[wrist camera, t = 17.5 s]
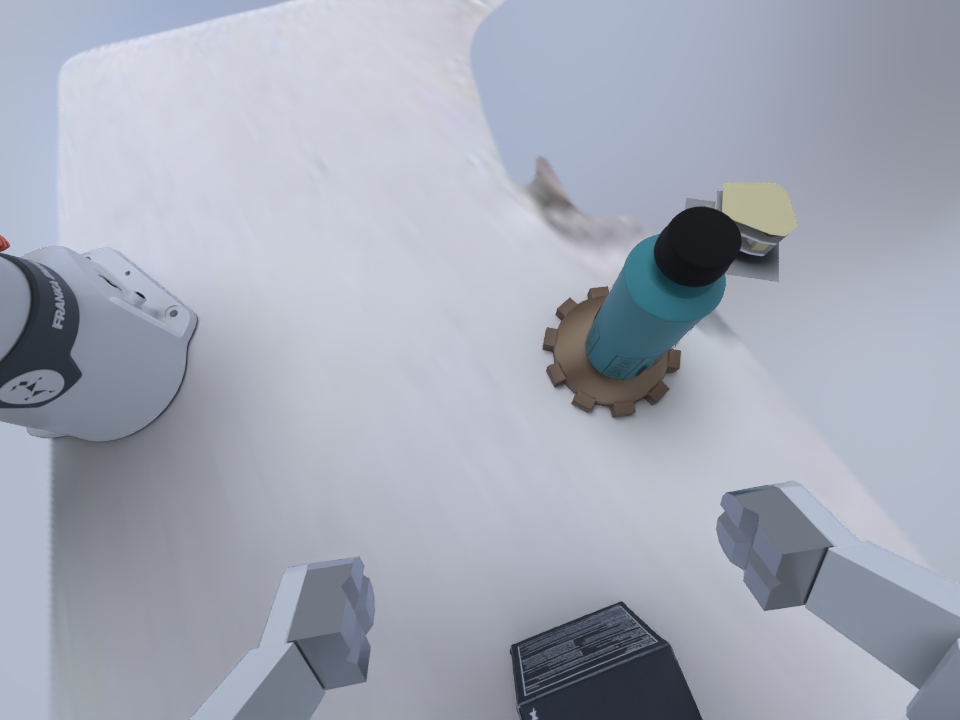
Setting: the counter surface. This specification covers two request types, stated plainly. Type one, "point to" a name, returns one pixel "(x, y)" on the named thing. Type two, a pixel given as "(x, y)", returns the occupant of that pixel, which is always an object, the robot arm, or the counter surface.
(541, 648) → the small box
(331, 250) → the counter surface
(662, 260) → the beverage bottle
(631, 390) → the gear plate
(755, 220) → the stacked layers on plate
